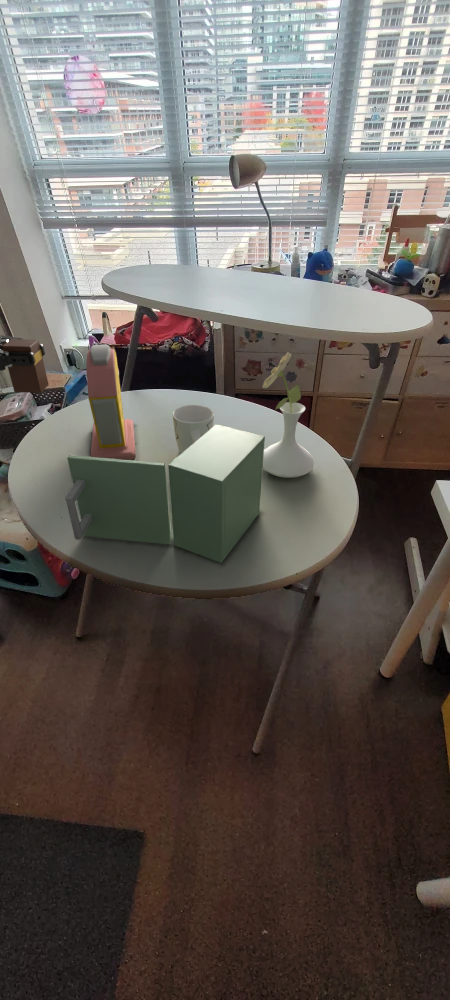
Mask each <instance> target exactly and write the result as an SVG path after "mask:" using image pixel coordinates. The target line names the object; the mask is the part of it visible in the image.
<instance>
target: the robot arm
mask: <svg viewBox="0 0 450 1000" xmlns="http://www.w3.org/2000/svg"><path fill="white" fill-rule="evenodd" d="M11 339H24V338H22V337H15V336H9V335H3V334H2V335H1V334H0V371H1V372H3V371H5V370H6V368H8V367H12V366H14V365H31V366H32V365H34V364H35V363H36V361H35V357H34V354H33V353H32V352H20V351H12V352H11V354H10V351H3V348H2V346H3V345H4V344H5V343H7V342H8V341H9V340H11ZM39 344H40V349H41V352H42V356H43V357H44V356H45V355H46V351H45V347H44V346H45V345H44V344H43V343H40V342H39ZM13 364H14V365H13Z"/></svg>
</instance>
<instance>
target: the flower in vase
mask: <svg viewBox="0 0 450 1000" xmlns="http://www.w3.org/2000/svg"><path fill="white" fill-rule="evenodd" d="M291 357H292V353H291V352H290V351H287V352H286V354H285V355H283V356H281V358H280V360H279V363H278V364H277V366H275V367H273V368H272V369H271V370H270V374H271V375H269V376H268V377H266V379H265V380H264V381H263V384H262V389H268V388H269V387H270V386H271V385H272V384H273V383H274V382H275V381H276V379H277V378H282V380H283V382H284V386H285V389H286V392H287V395H286V397H285V398H283V399H282V400H281V401H279V402H278V404H277V405H276V407H275V409H274V411H276V410H278V409H279V410H280V412H281V413H282V416H283V421H284V422H283V423H284V425H283V429H284V430H283V436H282V438H281V440H280V441H278V442H276V443H273V444H271V445H269V446H267V447H266V448H264V455H263V468H262V470H264V471H265V472H267V473H268V474H270V475H272V476H275V477H278V478H285V479H292V478H299V477H302V476H305V475H307V474H308V473H310V471H312V470H313V468H314V466H315V462H314V458H313V456H312V454H311V453H310V452H309V451H308V450H307V449H306V448H305V447H303V446H302V445H300V444H299V443H298V442H297V440H296V430H297V425H298V423H299V422H298V421H299V419H300V417H301V415H302V414H303V413H304V412H305V411H306V406H305V405H303V404H302V403H299V402H298V401H300V400H301V398H302V394H301V387H300V384H297V385H295V386H293V388H291V389H290V390H289V386H288V383H287V381H286V377H285V375H284V370H285V368H286V366H288V365H287V364H288V363H289V362H290V361H291V360H290V359H291Z"/></svg>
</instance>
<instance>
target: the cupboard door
mask: <svg viewBox="0 0 450 1000" xmlns="http://www.w3.org/2000/svg"><path fill="white" fill-rule="evenodd" d="M67 462H68V467H69V472H70V476H71V480H72V487H71V488H70V489H69V491H67V493H66V495H64V500H65V503H66V508H67V512H68V516H69V520H70V524H71V528H72V532H73V536H74V539H75V540H76V541H79V540H80V541H81V540H82V539H83V538H84V536H85V537H92V538H101V539H112V540H120V541H121V540H122V541H130V542H131V541H132V542H141V543H149V544H150V543H151V544H158V545H159V544H161V545H168V546H169V545H171V542H172V537H171V525H170V512H169V498H168V486H167V472H166V463H165V462H154V461H144V460H142V461H140V460H133V459H131V460H121V459H109V458H97V457H91V456H85V455H73V454H69V455H68V456H67ZM76 503H77V506H76ZM77 508H78V509H77ZM78 512H79V514H78ZM79 517H80V519H79Z"/></svg>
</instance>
